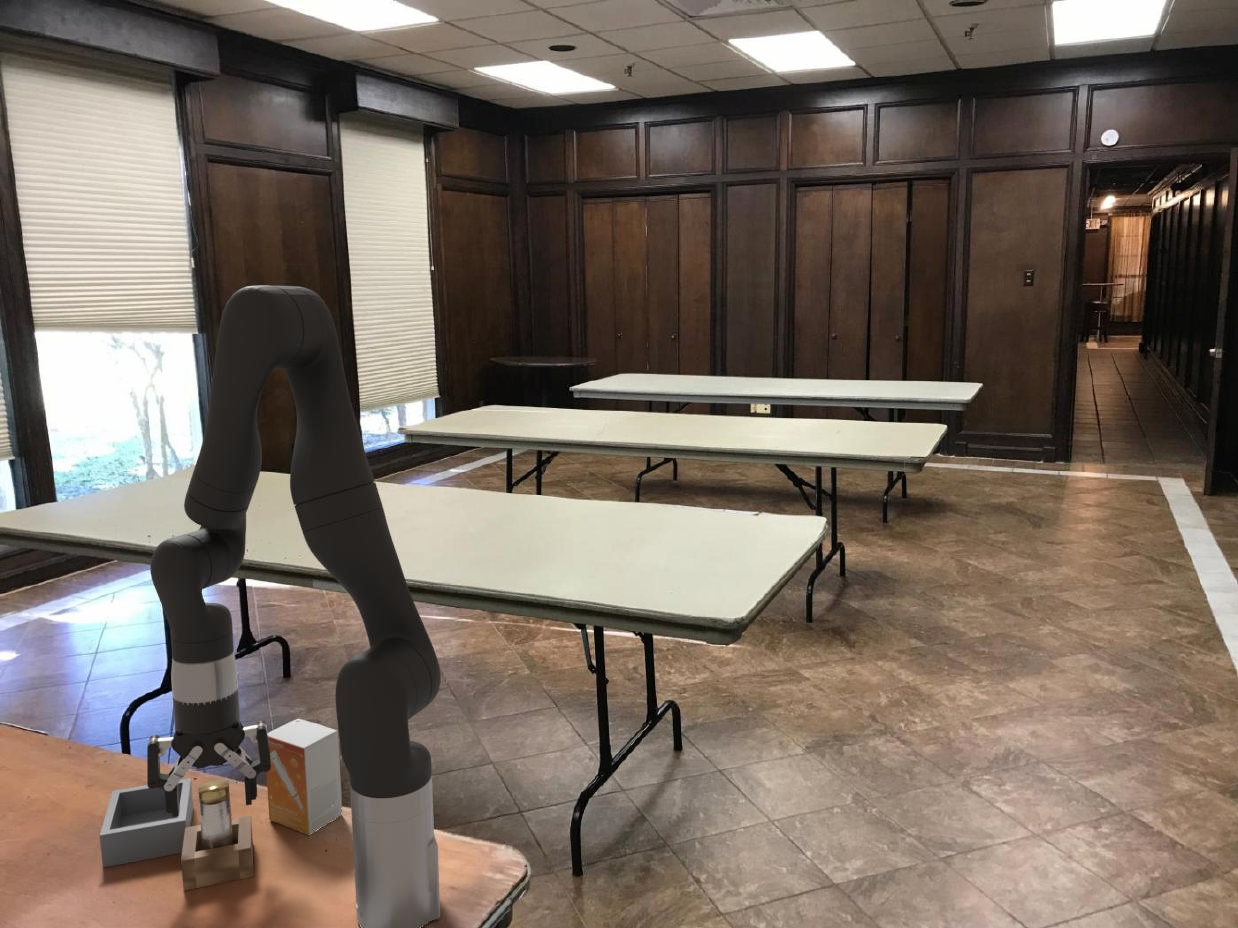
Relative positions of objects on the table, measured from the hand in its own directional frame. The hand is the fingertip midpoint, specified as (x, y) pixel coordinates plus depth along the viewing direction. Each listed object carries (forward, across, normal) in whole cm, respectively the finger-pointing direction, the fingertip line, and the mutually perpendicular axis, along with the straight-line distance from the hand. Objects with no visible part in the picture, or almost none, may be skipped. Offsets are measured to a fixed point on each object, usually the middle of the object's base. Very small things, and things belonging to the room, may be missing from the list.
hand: (213, 807), depth 120 cm
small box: (+8, +11, +8) cm, 16 cm away
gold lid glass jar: (+8, 0, 0) cm, 8 cm away
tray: (+8, -9, +11) cm, 16 cm away
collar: (+8, 0, 0) cm, 8 cm away
